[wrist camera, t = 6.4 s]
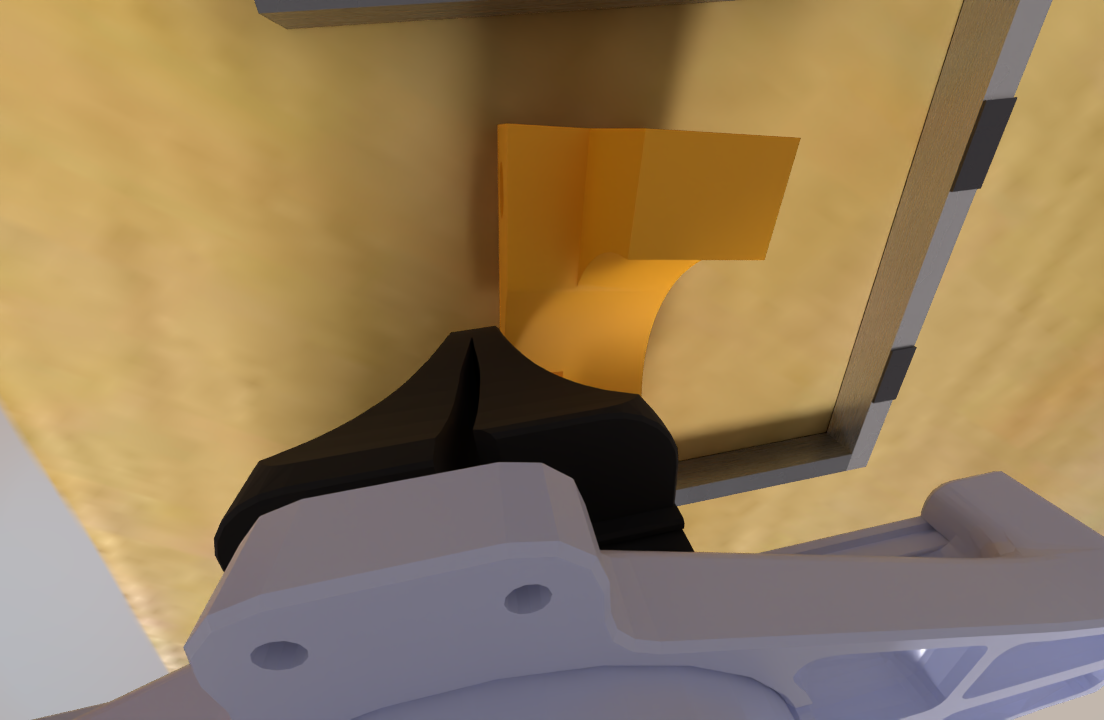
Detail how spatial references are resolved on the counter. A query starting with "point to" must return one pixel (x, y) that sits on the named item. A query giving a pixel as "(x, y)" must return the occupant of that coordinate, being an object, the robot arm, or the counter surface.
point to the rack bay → (915, 239)
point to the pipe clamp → (621, 233)
